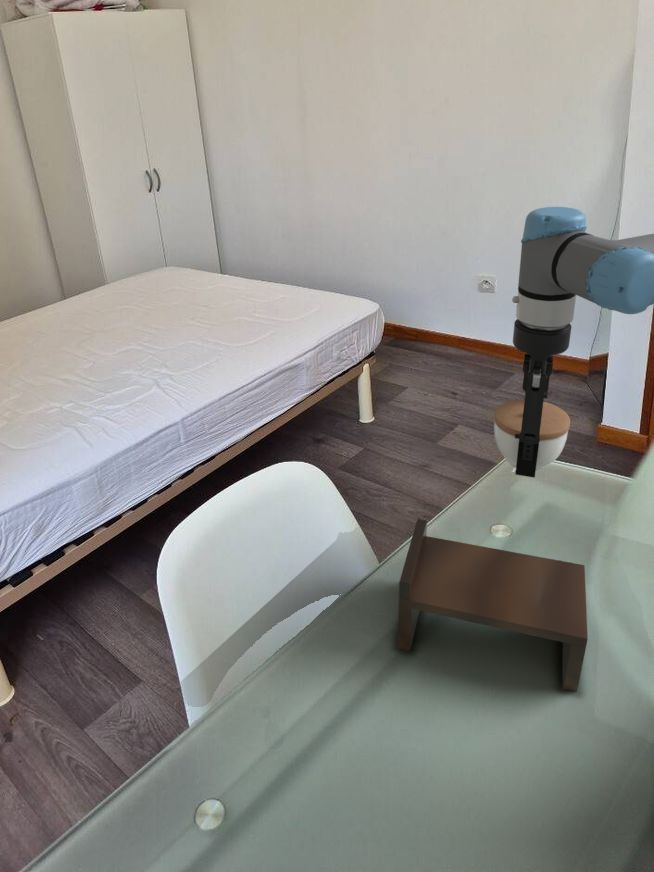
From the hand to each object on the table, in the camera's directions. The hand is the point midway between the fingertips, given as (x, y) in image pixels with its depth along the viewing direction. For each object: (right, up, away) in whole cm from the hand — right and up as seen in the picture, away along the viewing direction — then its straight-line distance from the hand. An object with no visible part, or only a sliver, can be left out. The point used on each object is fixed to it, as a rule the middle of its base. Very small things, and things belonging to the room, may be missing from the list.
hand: (527, 454), depth 105 cm
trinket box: (0, -1, +1) cm, 1 cm away
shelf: (-7, -26, -5) cm, 27 cm away
